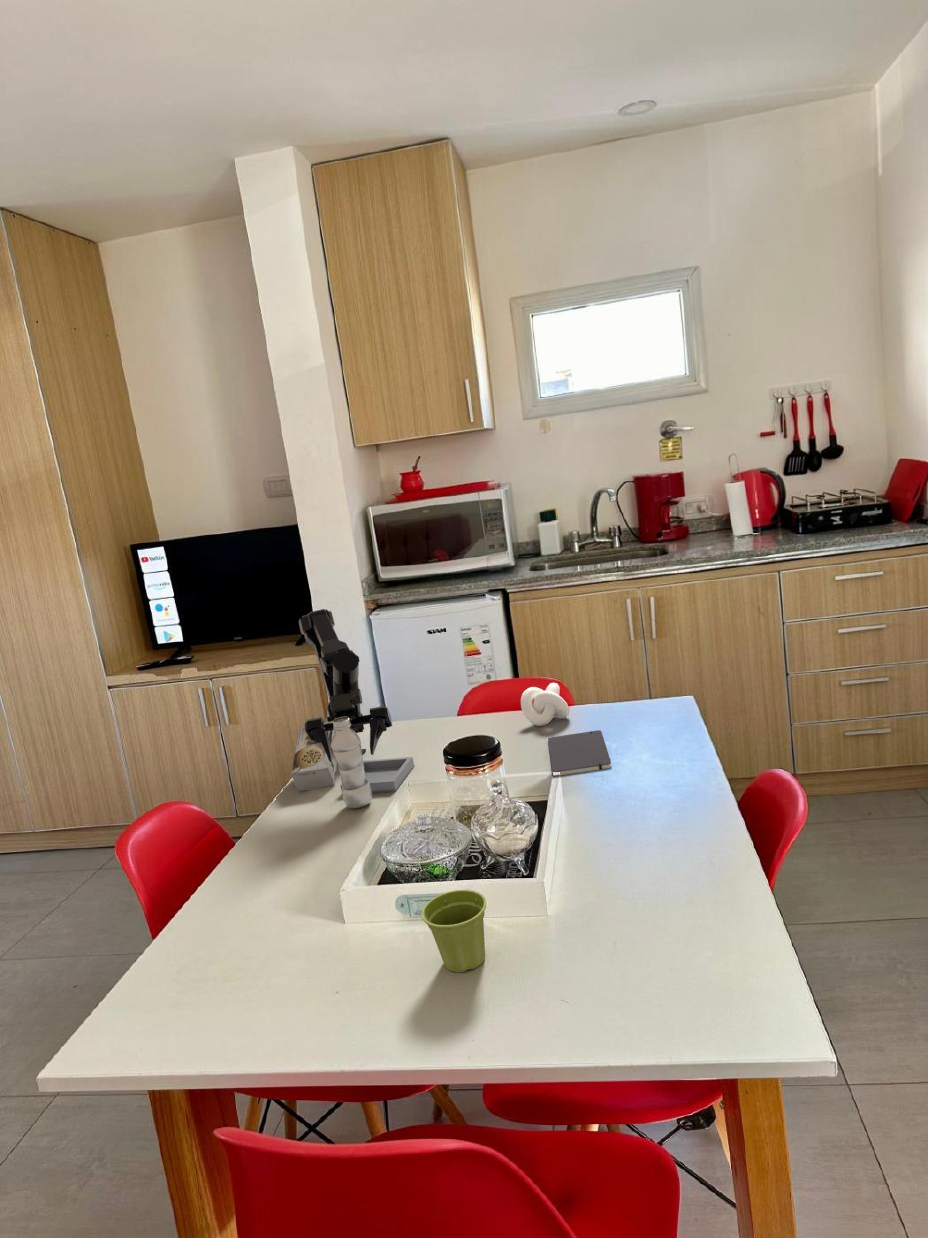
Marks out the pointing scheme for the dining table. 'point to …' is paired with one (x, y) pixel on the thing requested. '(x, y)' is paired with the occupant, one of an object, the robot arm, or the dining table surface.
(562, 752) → the notebook
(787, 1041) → the dining table surface
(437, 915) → the plant pot
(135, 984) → the dining table surface
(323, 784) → the coffee box
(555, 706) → the white knot sculpture
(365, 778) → the plastic bottle
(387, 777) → the grey square tray
